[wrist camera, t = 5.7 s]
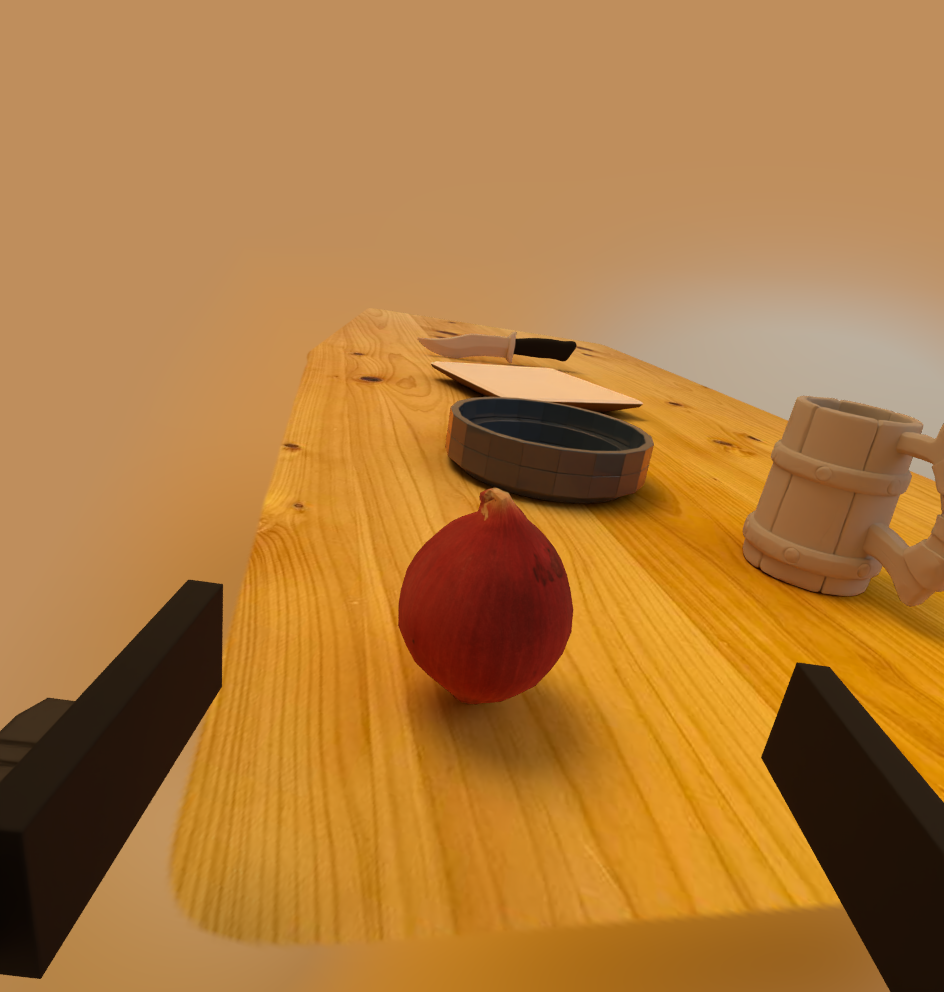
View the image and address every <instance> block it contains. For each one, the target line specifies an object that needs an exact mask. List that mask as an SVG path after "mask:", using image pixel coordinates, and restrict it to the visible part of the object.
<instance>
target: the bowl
mask: <svg viewBox="0 0 944 992" xmlns="http://www.w3.org/2000/svg"><path fill="white" fill-rule="evenodd" d="M653 446H654V443H653V440H652V437H651V436H650V435H648V434H647V433H646V432H644V431H643V430H641V429H640V428H638V427H636V426H634V425H631V424H629V423H627V422H625V421H622V420H620V419H617V418H614V417H611V416H608V415H604V414H601V413H598V412H594V411H590V410H586V409H582V408H578V407H574V406H569V405H564V404H558V403H553V402H547V401H540V400H531V399H523V398H510V397H478V398H469V399H465V400H461V401H457V402H456V403H455V404H454V405H452V406H451V408H450V415H449V423H448V430H447V438H446V445H445V448H446V451H447V455H448V457H449V458H451V459H452V460H453V461H454V462H456V463H457V464H458V465H459V466H460V467H462V469H463V470H464V471H466V472H467V473H468V474H469V475H471V476H472V477H474V478H476V479H478V480H479V481H482V482H484V483H486V484H488V485H491V486H493V487H496V488H498V489H501V490H504V491H508V492H511V493H514V494H518V495H522V496H526V497H531V498H536V499H542V500H548V501H555V502H565V503H600V502H606V501H611V500H614V499H617V498H619V497H621V496H625V495H629V494H633V493H635V492H636V491H637V490H639V489H640V488H641V487H642V486H643V485H644V482H645V478H646V474H647V470H648V466H649V462H650V458H651V454H652V450H653Z"/></svg>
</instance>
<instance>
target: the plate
mask: <svg viewBox="0 0 944 992" xmlns="http://www.w3.org/2000/svg"><path fill="white" fill-rule="evenodd" d="M431 365H432V367H434V368H435V369H437V370H438V371H440V372H442V373H443V374H445V375H447V376H448V377H450V378H452V379H453V380H455V381H457V382H458V383H460V384H462V385H464V386H466V387H468V388H470V389H472V390H474V391H476V392H478V393H480V394H482V395H484V396H486V397H510V398H523V399H531V400H540V401H547V402H553V403H558V404H564V405H569V406H574V407H578V408H582V409H586V410H590V411H594V412H608V411H615V410H622V409H629V408H636V407H640V406H641V405H642V404H643V403H642V402H640V401H639V400H636V399H634V398H631V397H628V396H625V395H623V394H620V393H617V392H615V391H612V390H609V389H606V388H604V387H601V386H598V385H595V384H593V383H590V382H587V381H585V380H582V379H579V378H576V377H574V376H571V375H568V374H565V373H563V372H560V371H557V370H555V369H551V368H538V367H521V366H504V365H488V364H471V363H454V362H437V361H435V362H432V363H431Z"/></svg>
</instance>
